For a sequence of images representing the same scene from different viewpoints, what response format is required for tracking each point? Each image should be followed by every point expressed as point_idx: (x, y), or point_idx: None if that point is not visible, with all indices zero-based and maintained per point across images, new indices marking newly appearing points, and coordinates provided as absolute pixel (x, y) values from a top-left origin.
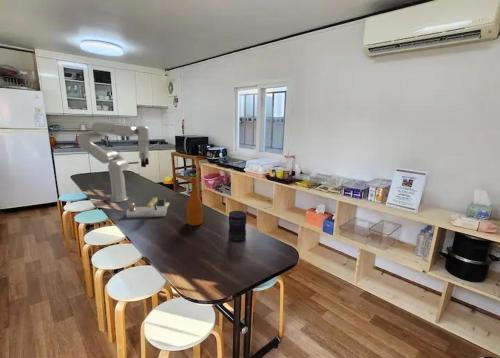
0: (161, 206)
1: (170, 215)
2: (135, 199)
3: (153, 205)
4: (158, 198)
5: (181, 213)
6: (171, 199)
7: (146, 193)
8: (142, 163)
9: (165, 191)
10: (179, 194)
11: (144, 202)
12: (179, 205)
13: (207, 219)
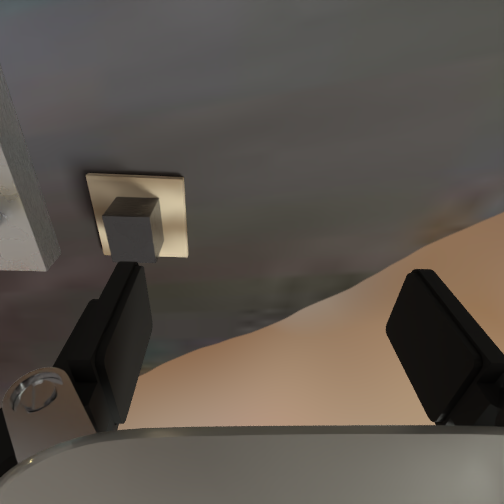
0: (34, 247)
1: (10, 271)
2: (308, 11)
3: (132, 181)
4: (136, 229)
5: (47, 308)
6: (261, 257)
7: (452, 82)
8: (68, 350)
9: (443, 213)
10: (346, 287)
11: (220, 105)
12: (157, 296)
13: (4, 379)
